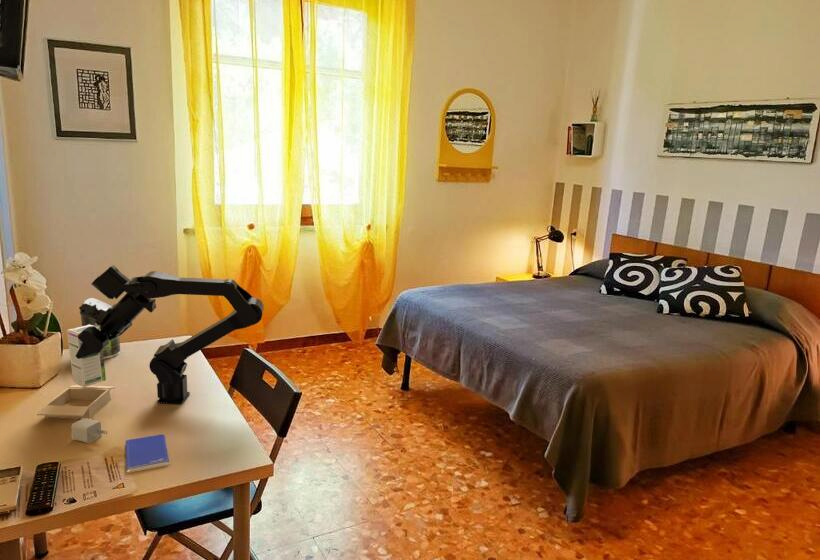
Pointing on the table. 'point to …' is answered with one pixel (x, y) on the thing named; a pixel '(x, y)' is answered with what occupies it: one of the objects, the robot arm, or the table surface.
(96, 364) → the syrup box
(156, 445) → the hard drive
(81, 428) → the usb wall charger
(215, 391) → the table surface
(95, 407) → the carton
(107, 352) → the coffee can
